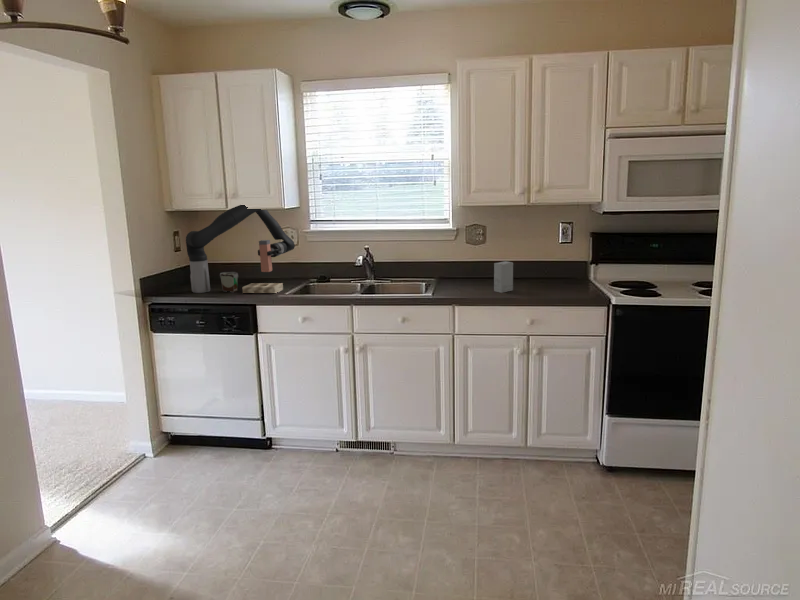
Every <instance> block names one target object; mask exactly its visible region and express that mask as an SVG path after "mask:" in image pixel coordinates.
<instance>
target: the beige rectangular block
mask: <svg viewBox="0 0 800 600" xmlns="http://www.w3.org/2000/svg"><path fill="white" fill-rule="evenodd" d="M283 284H284V283H283V282H281V283H279V282H277V283H276V282H274V283H273V282H271V283H270V282H268V283H267V282H264V283H263V282H262V283H261V282H259V283H256V282H253V283H252V282H251V283H249V284H247V285H244V286H242V294H243V293H276V294H277V292H278V293H279V292H281V291H284V285H283Z"/></svg>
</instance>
